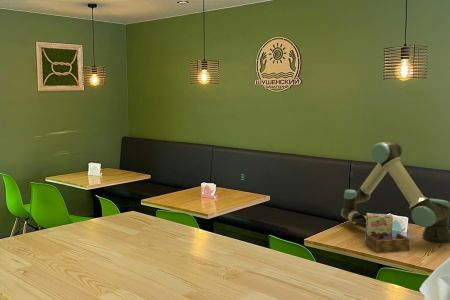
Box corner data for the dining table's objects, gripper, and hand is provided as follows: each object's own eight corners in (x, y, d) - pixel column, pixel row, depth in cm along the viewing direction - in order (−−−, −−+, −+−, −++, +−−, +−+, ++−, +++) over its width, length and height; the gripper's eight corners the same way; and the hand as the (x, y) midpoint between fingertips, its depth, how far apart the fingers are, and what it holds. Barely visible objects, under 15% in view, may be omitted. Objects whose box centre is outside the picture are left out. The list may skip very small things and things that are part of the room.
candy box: (365, 243, 254) (366, 215, 252) (365, 240, 260) (366, 212, 258) (391, 246, 251) (393, 216, 248) (390, 242, 256) (392, 214, 254)
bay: (398, 243, 254) (399, 233, 253) (409, 249, 244) (409, 239, 243) (367, 246, 251) (367, 235, 250) (376, 252, 241) (377, 241, 240)
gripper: (366, 223, 283) (386, 235, 260) (346, 225, 280) (365, 236, 257) (366, 212, 282) (387, 222, 259) (347, 213, 279) (366, 223, 256)
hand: (376, 229), depth 258 cm, fingers closed
